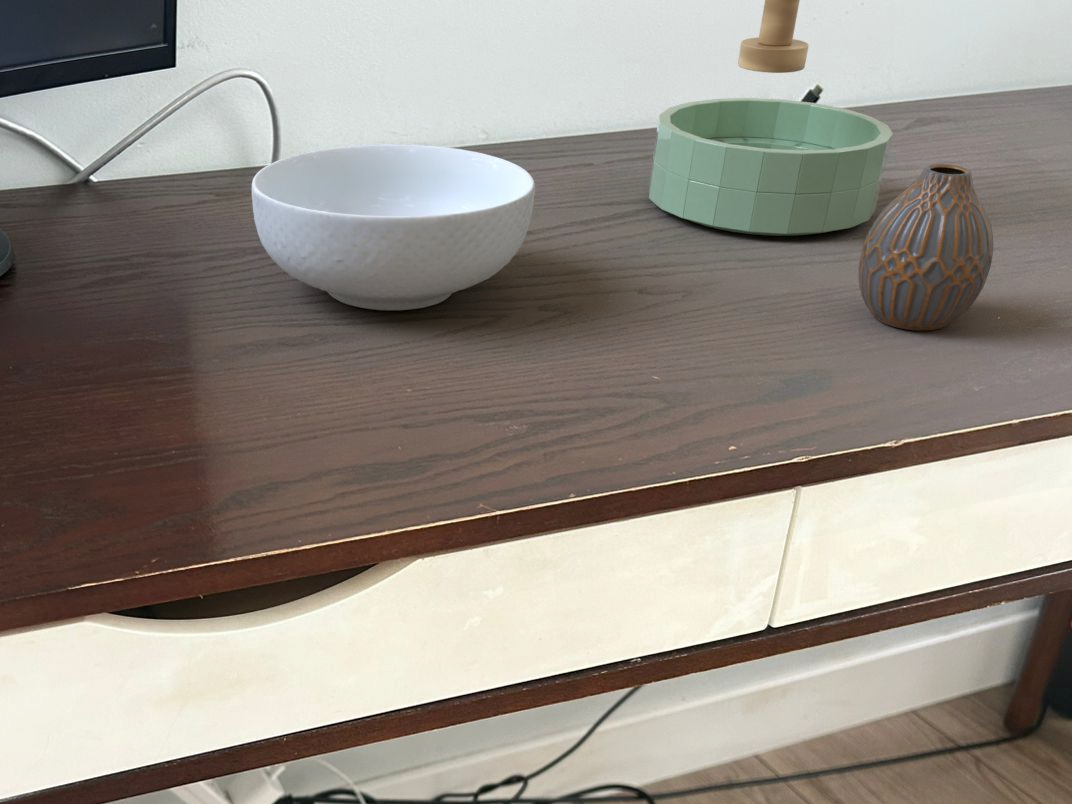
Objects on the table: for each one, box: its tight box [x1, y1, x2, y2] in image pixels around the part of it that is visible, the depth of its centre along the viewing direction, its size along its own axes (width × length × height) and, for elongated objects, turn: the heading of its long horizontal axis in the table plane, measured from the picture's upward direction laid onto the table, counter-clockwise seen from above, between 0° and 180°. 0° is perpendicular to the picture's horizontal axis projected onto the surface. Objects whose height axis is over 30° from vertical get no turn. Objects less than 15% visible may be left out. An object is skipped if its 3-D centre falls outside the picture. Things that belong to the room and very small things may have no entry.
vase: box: [858, 163, 994, 332], centre depth 79 cm, size 7×7×9 cm
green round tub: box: [648, 97, 894, 237], centre depth 98 cm, size 16×16×6 cm
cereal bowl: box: [251, 143, 536, 311], centre depth 84 cm, size 17×17×7 cm
